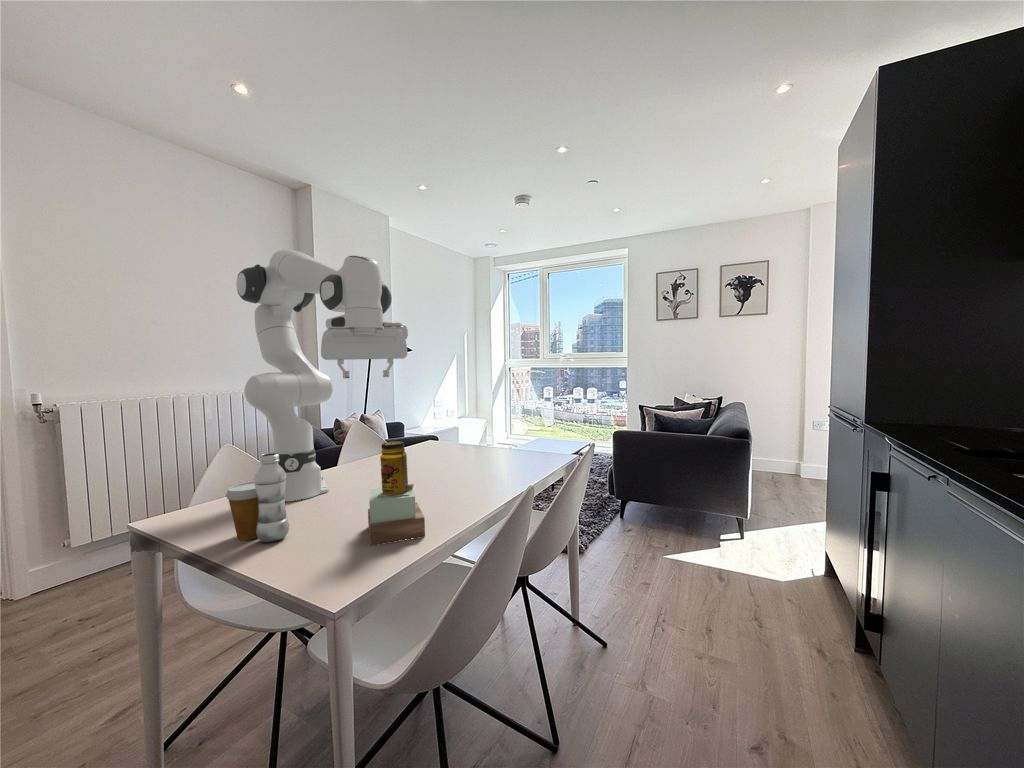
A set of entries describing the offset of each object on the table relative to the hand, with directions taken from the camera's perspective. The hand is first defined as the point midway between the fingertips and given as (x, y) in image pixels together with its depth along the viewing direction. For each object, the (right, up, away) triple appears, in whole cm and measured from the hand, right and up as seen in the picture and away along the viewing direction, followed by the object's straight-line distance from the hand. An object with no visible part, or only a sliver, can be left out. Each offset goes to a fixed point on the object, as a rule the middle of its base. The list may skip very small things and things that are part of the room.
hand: (366, 377), depth 104 cm
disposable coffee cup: (-26, -38, -4) cm, 46 cm away
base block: (+8, -38, -4) cm, 39 cm away
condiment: (+8, -28, -3) cm, 29 cm away
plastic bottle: (-19, -38, -7) cm, 43 cm away
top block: (+8, -33, -4) cm, 34 cm away
